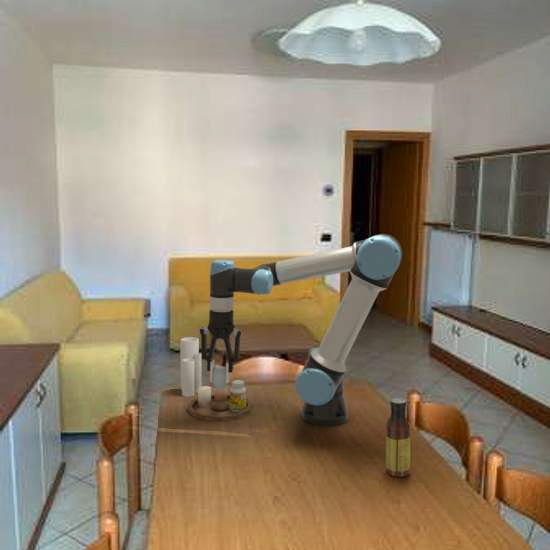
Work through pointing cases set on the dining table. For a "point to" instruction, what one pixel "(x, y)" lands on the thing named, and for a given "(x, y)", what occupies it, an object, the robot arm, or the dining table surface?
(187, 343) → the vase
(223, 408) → the tray
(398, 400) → the sauce bottle
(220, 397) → the seated bead terracotta
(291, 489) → the dining table surface
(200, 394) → the seated bead cream
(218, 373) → the loose bead
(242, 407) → the supplement bottle
